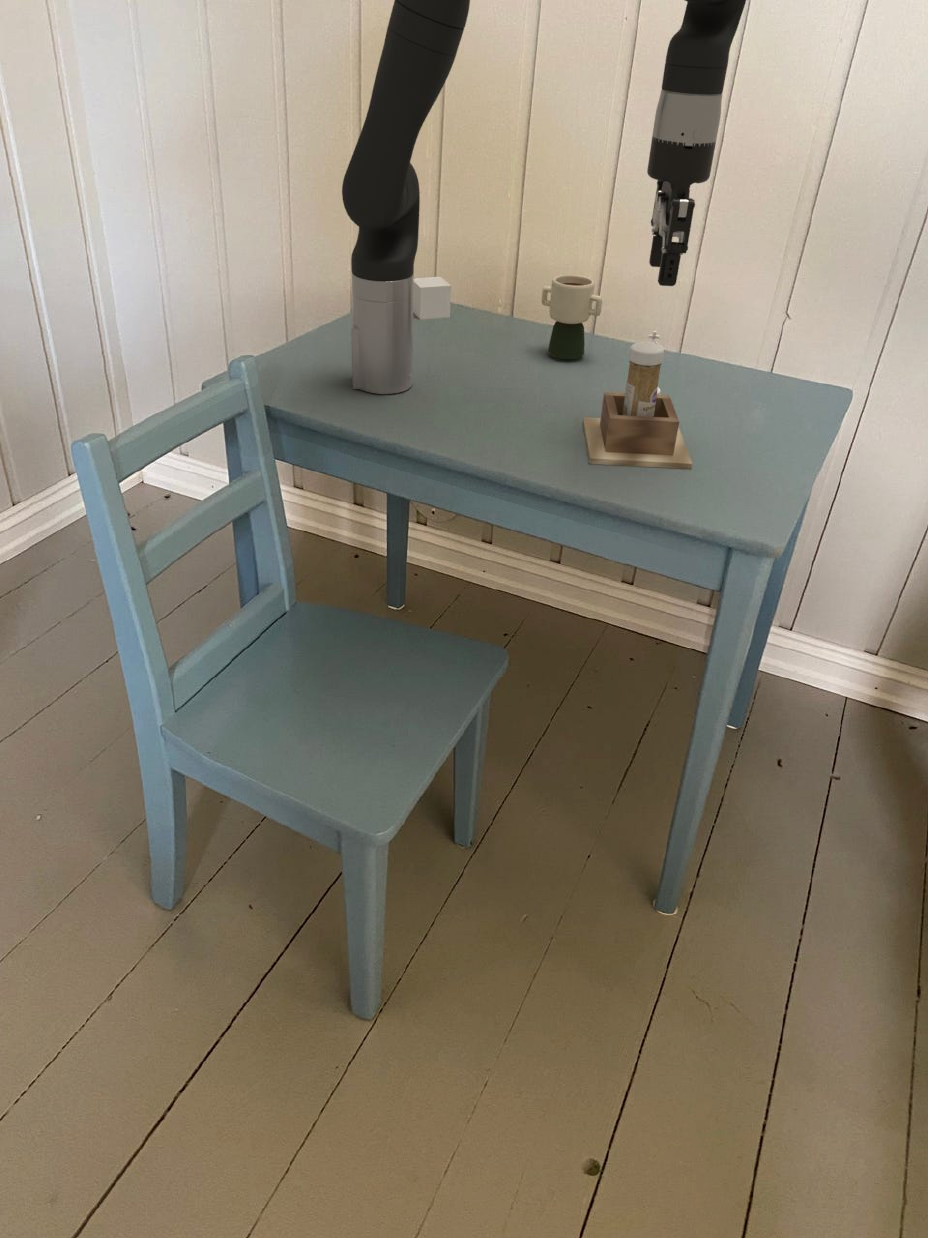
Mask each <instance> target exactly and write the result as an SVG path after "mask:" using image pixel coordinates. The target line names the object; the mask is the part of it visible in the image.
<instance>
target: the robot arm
mask: <svg viewBox="0 0 928 1238" xmlns="http://www.w3.org/2000/svg"><path fill="white" fill-rule="evenodd" d="M684 1H685V2H687V4H686V7H685V10H684V15H683V20H682V23H681V26H680V28H679V29H678V31H677V32H676V33H674V35H673V36H672V37H671V38H670V40H669V43H668V47H667V51H666V56H665V63H664V70H663V75H662V83H661V90H660V95H659V98H658V103H657V106H656V110H655V115H654V116H655V117H654V124H653V128H652V137H651V143H650V150H649V158H648V164H647V170H646V173H647V175H648V177H650V178H651V179H652V180H656V192H655V198H654V203H653V209H652V210H653V211H652V216H651V219H650V226H651V227H652V228H651V234H652V242H651V249H650V253H649V261H648V262H649V263H648V264H649V266H651V267H653V268H659V270H658V276H657V283H658V284H659V286H662V287H675V286H676V285H677V280H678V274H679V269H680V263H681V256H683V255H684V254H687V252H688V249H689V240H690V239H689V238H690V235H691V234H690V233H691V228H692V221H693V215H694V210H695V208H696V202H695V199H693V198H691V197H690V192H691V189H690V188H691V186H692V185H693V184H703V183H705V182H707V181H708V180H709V179H710V176H711V172H712V166H713V161H714V155H715V150H716V145H717V144H716V143H717V138H718V133H719V127H720V122H721V117H722V116H721V115H722V103H723V102H722V101H723V92H724V87H725V80H726V76H727V70H728V64H729V58H730V50H731V46H732V44H733V40H734V38H735V36H736V33H737V31H738V27H739V24H740V20H741V17H742V15H743V12H744V9H745V6H746V2H747V0H684ZM470 3H471V0H394V2H393V5H392V9H391V13H390V17H389V20H388V25H387V28H386V33H385V38H384V42H383V47H382V51H381V54H380V58H379V62H378V65H377V70H376V74H375V79H374V83H373V87H372V90H371V91H372V92H371V97H370V101H369V105H368V109H367V112H366V113H367V114H366V115H365V119H364V123H363V126H362V128H361V130H360V133H359V136H358V139H357V142H356V144H355V147H354V150H353V152H352V155H351V157H350V160H349V163H348V165H347V168H346V170H345V174H344V177H343V180H342V185H341V189H342V190H341V196H342V203H343V206H344V209H345V212H346V214H347V217H349V219H350V220H351V221H352V222H353V223H354V224H355V225H356V226H357V227H358V232H357V233H358V234H357V239H356V242H355V245H354V247H353V250H352V252H351V256H350V259H351V260H350V262H351V263H350V266H351V267H350V269H351V293H352V294H351V296H352V326H351V329H350V339H351V341H350V343H351V344H350V345H351V375H352V377H351V378H352V389H354V390H361V391H364V392H367V393H371V394H378V395H389V394H398V393H402V392H405V391H407V390H410V389H411V387H412V386H413V384H414V383H413V378H414V313H413V289H414V273H415V271H414V265H415V261H416V257H417V256H416V255H417V252H418V245H419V229H420V227H419V226H420V209H421V208H420V204H421V201H420V198H421V197H420V183H419V179H418V174H417V171H416V170H415V167H413V164H412V163H411V160H412V156H413V153H414V150H415V145H416V142H417V140H418V137H419V135H420V132H421V130H422V127H423V125H424V123H425V121H426V119H427V117H428V115H429V113H430V112H431V110H432V108H433V106H434V105H435V102H436V101H437V99H438V97H439V96H440V93H441V91H442V89H443V87H444V85H445V83H446V81H447V79H448V77H449V75H450V73H451V70H452V67H453V64H454V62H455V60H456V56H457V53H458V50H459V47H460V43H461V40H462V37H463V34H464V30H465V28H466V23H467V22H468V21H467V20H468V16H469V12H470V5H471V4H470ZM673 237H674V238H678V241H673Z"/></svg>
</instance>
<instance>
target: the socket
mask: <svg viewBox="0 0 928 1238" xmlns="http://www.w3.org/2000/svg"><path fill="white" fill-rule="evenodd" d="M624 400H625V392H612V391H604V392H603V398H602V404H601V405H602V406H601V412H600V417H588V416H587V417H585V416H583V417H582V427H583V433H584V437H585V438H584V439H585V444H586V450H587V456H588V462H589V463H588V464H589V465H590V464H591V465H607V466H610V465H611V466H626V467H627V466H629V467H643V468H645V467H648V468H662V469H663V468H666V469H685V470H686V469H688V470H691V469H692V467H693V462H692V459H691V457H690V455H689V454H690V453H689V451H688V448H687V445H686V443H685V440H684V438H683V435H682V432H681V429H680V427H679V425H680V420H679V417H678V414H677V412H676V409H675V407H674V404H673V402H672V399H671V396H670V395H669V394H661V395H657V398H656V405H655V412H654V417H644V416H624V415H623V407H624Z"/></svg>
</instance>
